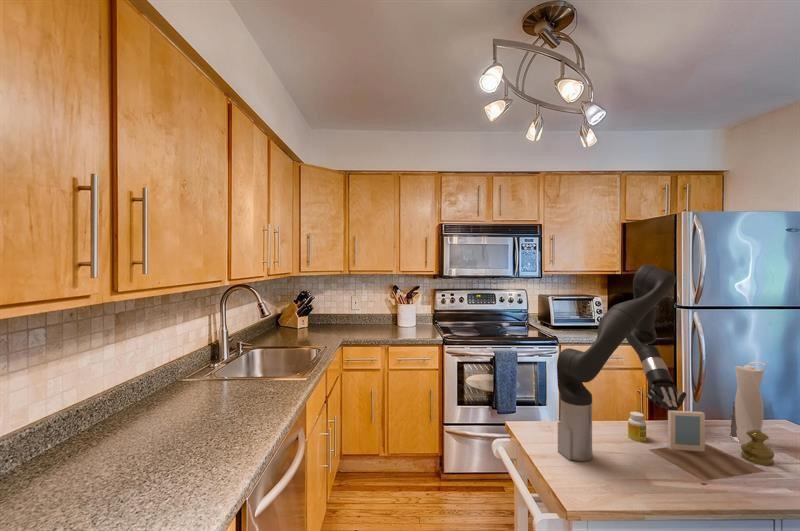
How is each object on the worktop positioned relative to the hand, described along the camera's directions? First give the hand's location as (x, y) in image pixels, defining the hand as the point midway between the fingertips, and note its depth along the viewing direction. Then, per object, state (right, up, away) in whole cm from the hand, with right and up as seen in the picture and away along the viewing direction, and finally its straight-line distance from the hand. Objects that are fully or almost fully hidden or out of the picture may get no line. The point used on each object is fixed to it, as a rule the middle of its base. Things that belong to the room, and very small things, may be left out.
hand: (676, 419), depth 129 cm
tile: (-1, -7, -6) cm, 9 cm away
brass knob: (+16, -9, -12) cm, 22 cm away
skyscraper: (+25, -9, +1) cm, 27 cm away
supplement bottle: (-12, -9, +2) cm, 15 cm away
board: (-1, -9, -12) cm, 15 cm away
